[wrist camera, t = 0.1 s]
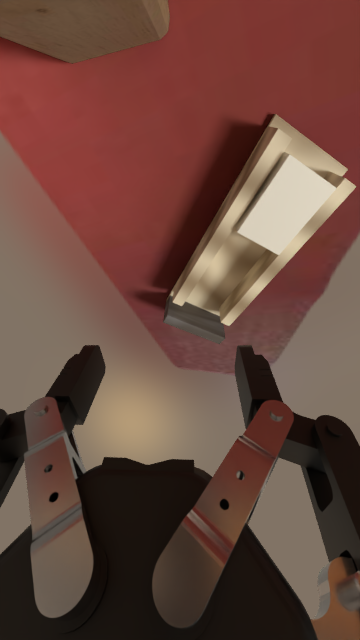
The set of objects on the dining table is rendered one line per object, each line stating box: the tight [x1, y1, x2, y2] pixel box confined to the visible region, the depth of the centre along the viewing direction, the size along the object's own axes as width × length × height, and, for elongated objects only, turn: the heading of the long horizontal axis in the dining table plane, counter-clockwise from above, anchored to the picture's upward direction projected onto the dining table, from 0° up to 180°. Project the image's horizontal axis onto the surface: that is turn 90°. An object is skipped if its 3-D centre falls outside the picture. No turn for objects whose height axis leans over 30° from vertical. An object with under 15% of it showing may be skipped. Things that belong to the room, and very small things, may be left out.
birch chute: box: [163, 114, 356, 344], centre depth 30 cm, size 26×10×6 cm, turn 154°
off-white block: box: [235, 152, 336, 255], centre depth 26 cm, size 8×6×4 cm
